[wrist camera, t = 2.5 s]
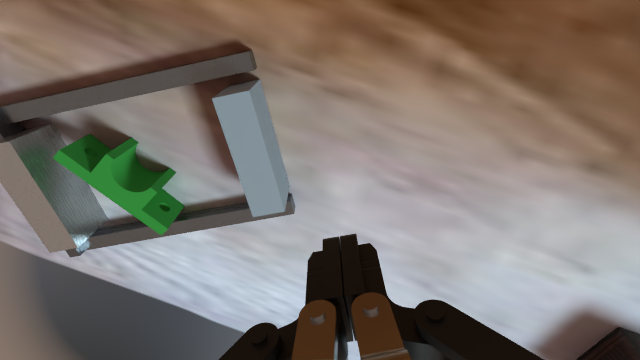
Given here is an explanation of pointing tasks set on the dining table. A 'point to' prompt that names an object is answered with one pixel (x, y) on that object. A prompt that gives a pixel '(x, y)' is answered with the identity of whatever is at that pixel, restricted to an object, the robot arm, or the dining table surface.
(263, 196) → the block
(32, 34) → the dining table surface
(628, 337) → the manual coffee grinder
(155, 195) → the pipe clamp
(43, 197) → the vise
